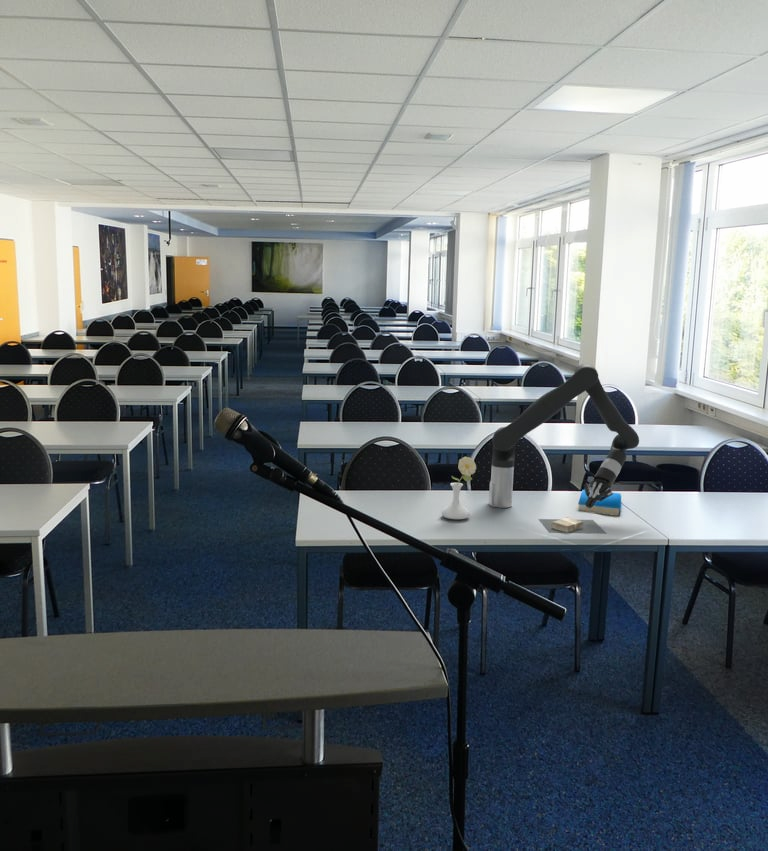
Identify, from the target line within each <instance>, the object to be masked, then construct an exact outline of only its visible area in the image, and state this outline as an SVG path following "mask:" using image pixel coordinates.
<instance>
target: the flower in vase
mask: <svg viewBox="0 0 768 851" xmlns="http://www.w3.org/2000/svg"><path fill="white" fill-rule="evenodd" d="M457 464H458V467H457V468H458V470H459V472H460V473H461V477H460V479H459V478H457V477H455V476H453V475H451V479H453V480H455V481H457V482H451V483H450V486H451V488H452V491H453V492H452V494H453V498H452V502H451V503H449V504H448V505H447V506H446V507H444V508H443V509H442V510H441V512H440V513H441V516H442V517H444V518H446V519H449V520H465V519H468V518H469V517H470V515H471V513H470V511H469V510H468V509H467V508H466V507H465V506H463V504H461V503H460V492H461V489H462V487H463V486H464V484H463V483H461V480H462V479H463V480H464V481H465V482H469V481H472V480H473V478H472V477H471V476H472V475H474V474H475V473H476V470H477V464H476V463H475V461H474V459H473V458H471V457H470V456H468V457H467V456H464V457H461V458H460V459H459V460H458V463H457Z"/></svg>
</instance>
